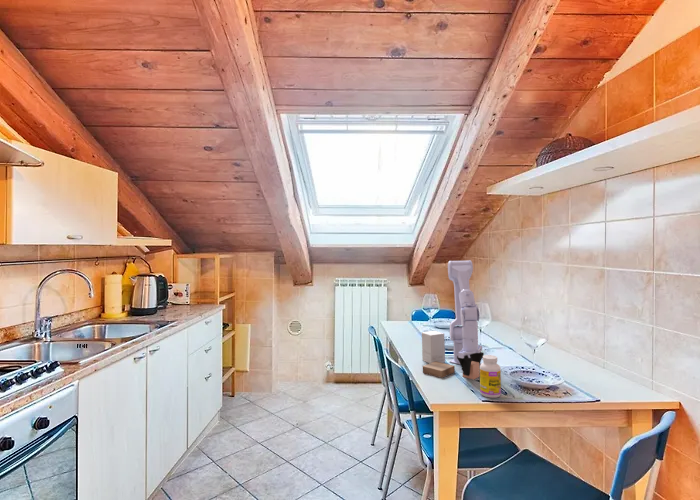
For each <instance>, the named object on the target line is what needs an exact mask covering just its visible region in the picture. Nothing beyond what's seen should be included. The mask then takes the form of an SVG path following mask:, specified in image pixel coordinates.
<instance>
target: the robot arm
mask: <svg viewBox="0 0 700 500" xmlns="http://www.w3.org/2000/svg"><path fill="white" fill-rule="evenodd" d="M473 271H474V266H473V261H472V260H471V259H468V260H449V261H448V263H447V273H448V276H447V277H448V280H450V281H452V284H453V288H454V291H453V292H454V310H455V311H454V312H455V319H453V320H452V321H451V322H450V323H449V340H450V341H452V343H453V359H451V360H449V363H450V364H452V363H453V364H456V365H460V367H461V370H462V375H463V374H464V375H467V376H469V375H470V366H471V362H472V361H475V362H479V367H480V365H481V363H482V360H483V356H484V355H485V353H484V352H483V346H482V345H479V326H478V325H479V323H478V322H479V321H480V309H479V306H478V305H477V303H476V300H475V293H474V292H473V291H472V290H471V289H470V288H471V286H470V279H471V277H472V274H473Z"/></svg>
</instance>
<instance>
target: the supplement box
mask: <svg viewBox="0 0 700 500" xmlns="http://www.w3.org/2000/svg"><path fill="white" fill-rule="evenodd" d="M445 340H446V339H445V333H443V332H440V331H436V330H430V331H429V330H428V331H424V332H421V348H422V350H421V352H422V354H421V355H422V359H421V360H422V361H424V362H426V363H428V364H430V363H432V362H435V361H436V362H441V363H446V350H445V349H446V346H445V345H446V342H445Z"/></svg>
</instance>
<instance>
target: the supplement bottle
mask: <svg viewBox="0 0 700 500" xmlns="http://www.w3.org/2000/svg"><path fill="white" fill-rule="evenodd" d="M501 372H502V371H501V366H500V365H499V364H498V356H496V355H492V354H484V355H483V357H482V362H481V363H480V366H479V387H480V388H479V392H480V395H482V396H483V397H486V398H491V399H497V398H500V397H501V395H502V373H501Z"/></svg>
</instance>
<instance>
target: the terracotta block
mask: <svg viewBox="0 0 700 500" xmlns="http://www.w3.org/2000/svg"><path fill="white" fill-rule="evenodd" d="M462 377H463V378H466V379H470V380H475V379H477V378H480V366H479V362H475V361H472V362H471V366H470V375H469V376H467V375H464V374H463V373H462Z"/></svg>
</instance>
